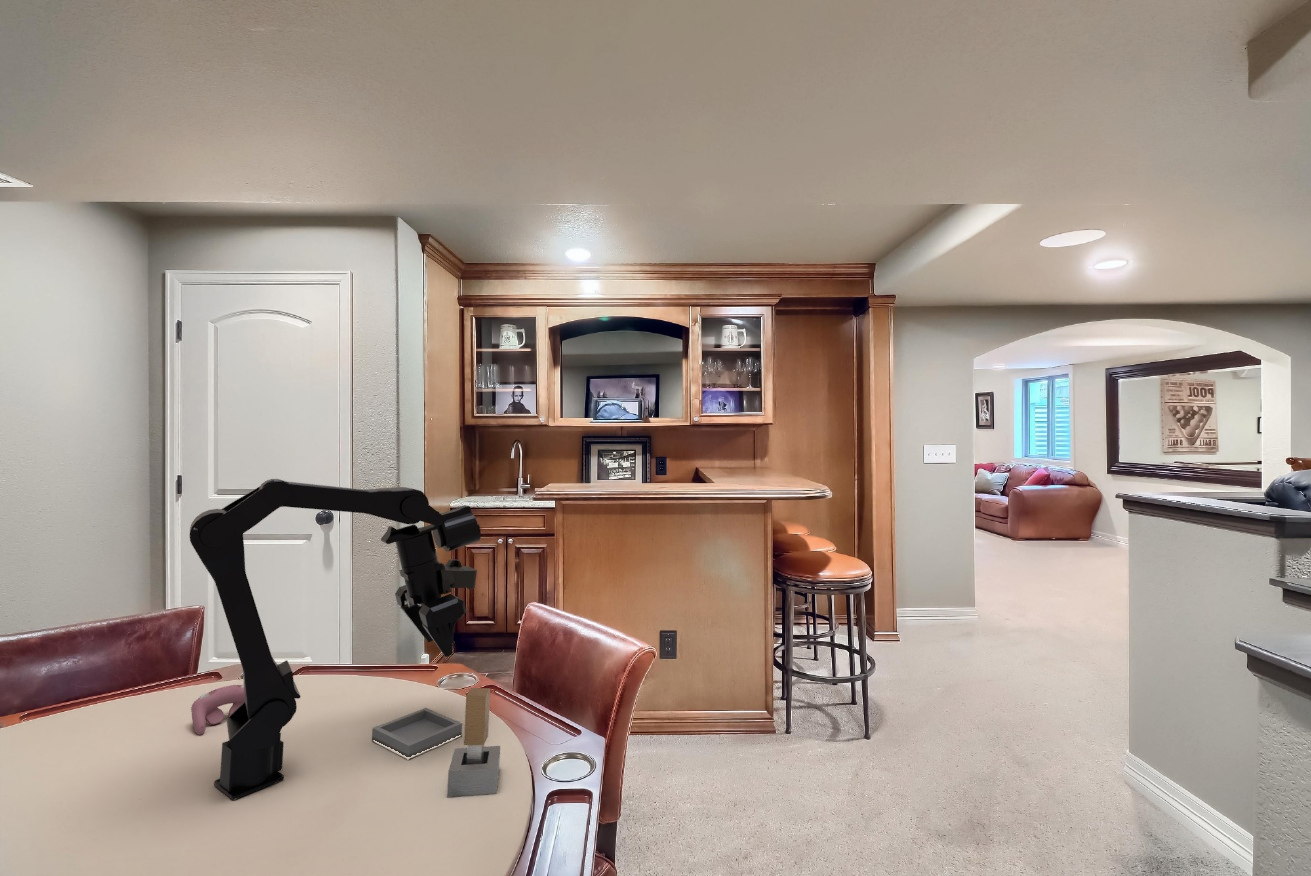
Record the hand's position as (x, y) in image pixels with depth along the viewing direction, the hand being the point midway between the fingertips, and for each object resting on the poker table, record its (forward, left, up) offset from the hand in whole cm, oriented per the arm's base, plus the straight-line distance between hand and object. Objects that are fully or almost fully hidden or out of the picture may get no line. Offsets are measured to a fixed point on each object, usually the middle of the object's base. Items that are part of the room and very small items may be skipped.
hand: (439, 648), depth 99 cm
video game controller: (-19, +32, -15) cm, 40 cm away
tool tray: (-3, +1, -15) cm, 15 cm away
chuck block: (-6, -17, -15) cm, 23 cm away
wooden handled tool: (-6, -17, -15) cm, 23 cm away
